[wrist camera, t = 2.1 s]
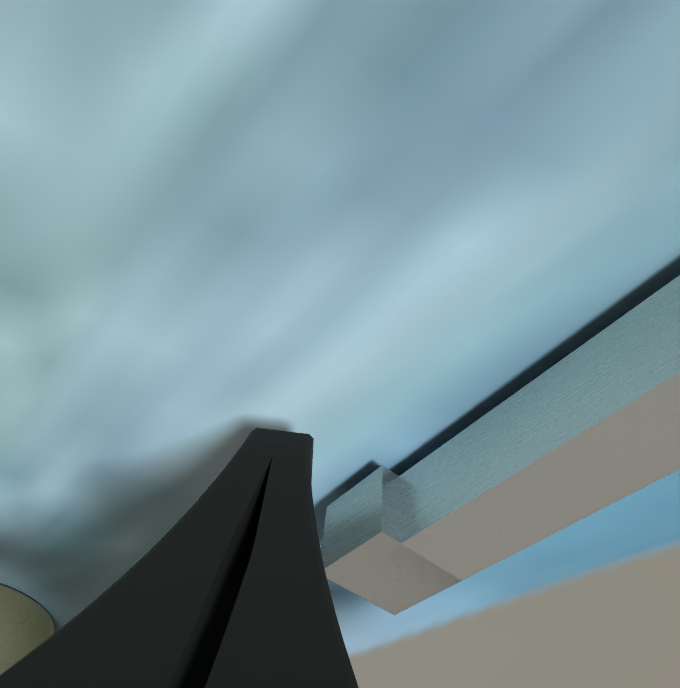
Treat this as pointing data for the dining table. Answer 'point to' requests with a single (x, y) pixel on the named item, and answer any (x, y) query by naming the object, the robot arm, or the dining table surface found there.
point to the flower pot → (20, 626)
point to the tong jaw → (519, 466)
